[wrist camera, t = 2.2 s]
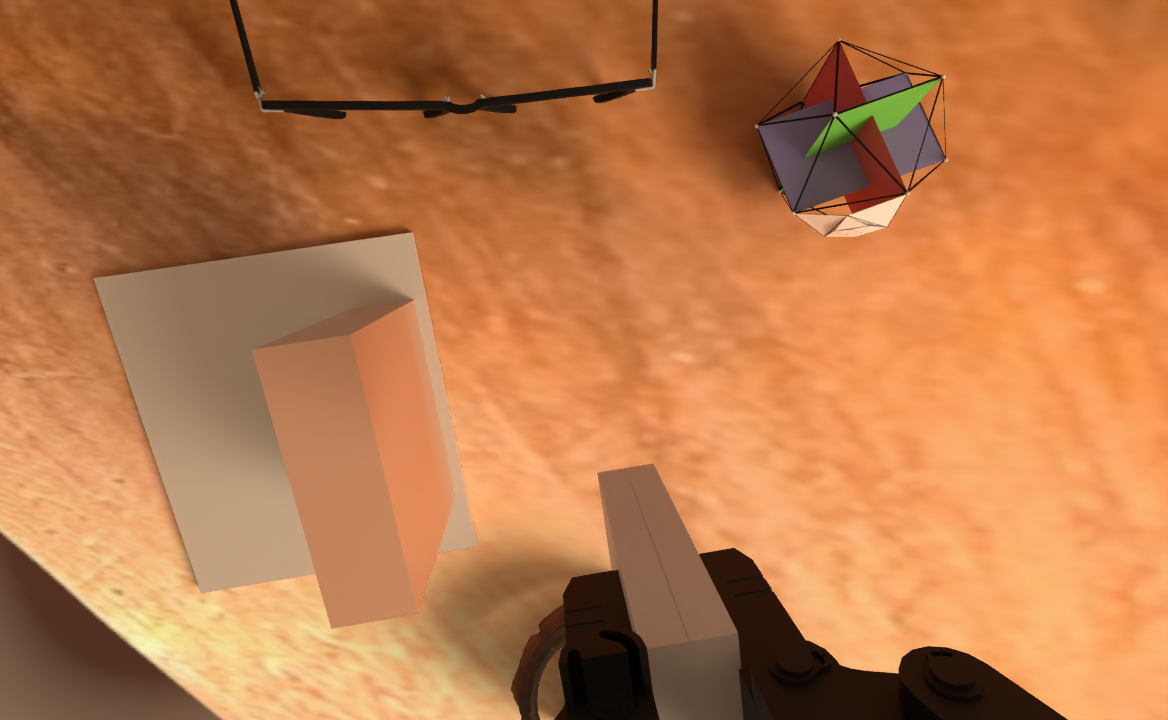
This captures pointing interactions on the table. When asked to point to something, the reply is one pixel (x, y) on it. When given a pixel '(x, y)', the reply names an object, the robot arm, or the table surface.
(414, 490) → the block
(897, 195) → the geometric puzzle
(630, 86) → the eyeglasses
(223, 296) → the mat
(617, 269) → the table surface
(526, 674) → the brown curved band frame
